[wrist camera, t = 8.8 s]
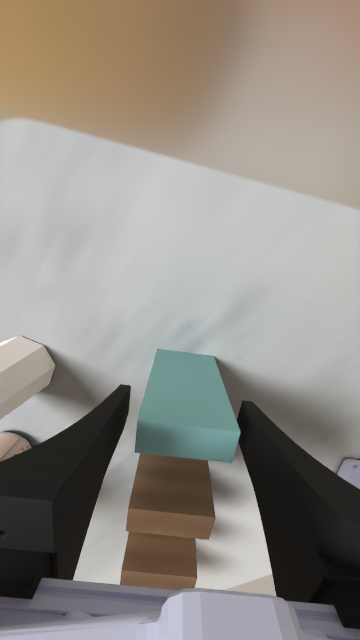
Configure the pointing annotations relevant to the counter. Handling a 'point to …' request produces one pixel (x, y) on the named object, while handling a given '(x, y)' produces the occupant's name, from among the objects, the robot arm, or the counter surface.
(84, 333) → the counter surface
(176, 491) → the walnut domino
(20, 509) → the robot arm
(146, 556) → the walnut domino
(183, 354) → the teal domino
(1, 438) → the beer can
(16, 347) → the pepper shaker
